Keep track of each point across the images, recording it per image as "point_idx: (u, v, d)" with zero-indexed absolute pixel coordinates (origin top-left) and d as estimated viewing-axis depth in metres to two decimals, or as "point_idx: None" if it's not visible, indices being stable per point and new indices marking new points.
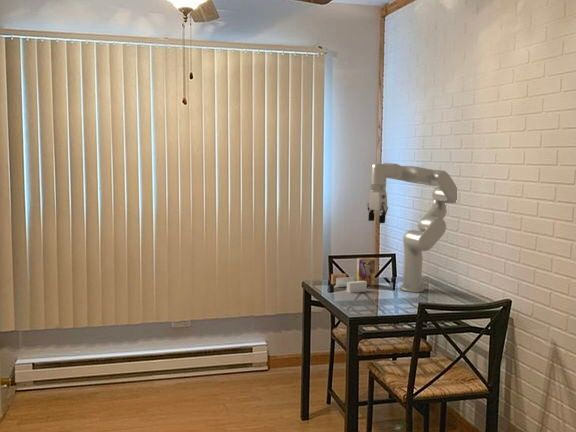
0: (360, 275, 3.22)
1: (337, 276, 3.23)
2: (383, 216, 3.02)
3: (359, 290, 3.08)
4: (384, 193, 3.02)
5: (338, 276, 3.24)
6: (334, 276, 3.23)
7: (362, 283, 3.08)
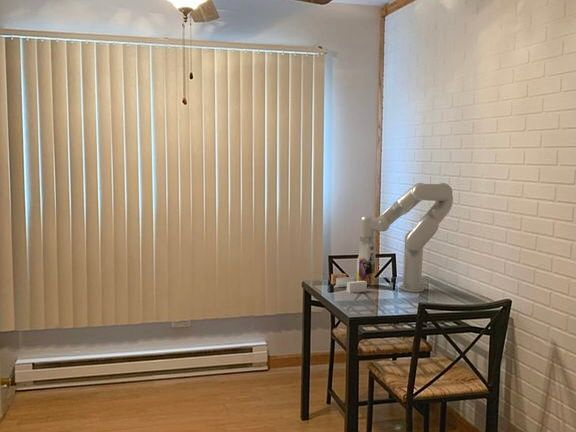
0: (360, 275, 3.22)
1: (337, 276, 3.23)
2: (369, 268, 3.21)
3: (359, 290, 3.08)
4: (373, 245, 3.19)
5: (338, 276, 3.24)
6: (334, 276, 3.23)
7: (362, 283, 3.08)
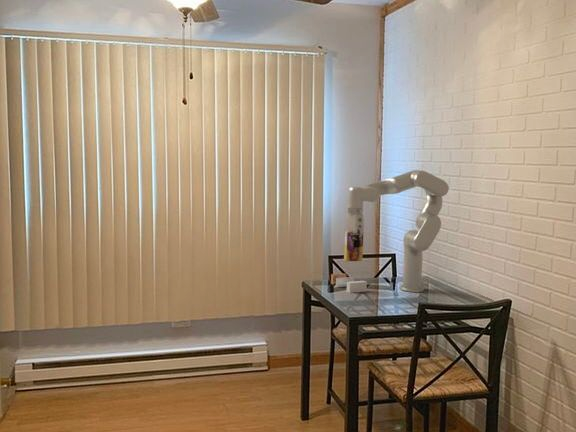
0: (348, 248, 3.08)
1: (337, 276, 3.23)
2: (357, 241, 3.07)
3: (359, 290, 3.08)
4: (361, 216, 3.06)
5: (338, 276, 3.24)
6: (334, 276, 3.23)
7: (362, 283, 3.08)
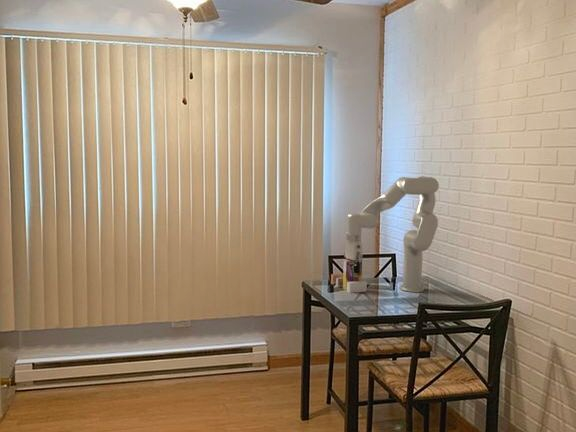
0: (347, 278, 3.10)
1: (337, 276, 3.23)
2: (358, 266, 3.07)
3: (359, 290, 3.08)
4: (359, 243, 3.07)
5: (338, 276, 3.24)
6: (334, 276, 3.23)
7: (362, 283, 3.08)
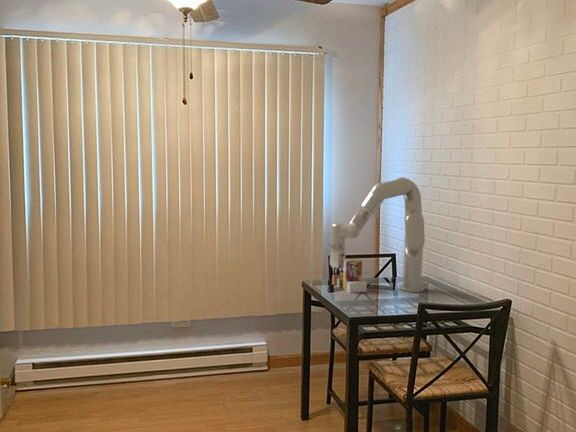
0: (347, 278, 3.10)
1: (338, 276, 3.22)
2: None
3: (359, 290, 3.08)
4: (343, 252, 3.22)
5: (339, 276, 3.23)
6: (335, 276, 3.22)
7: (362, 283, 3.08)
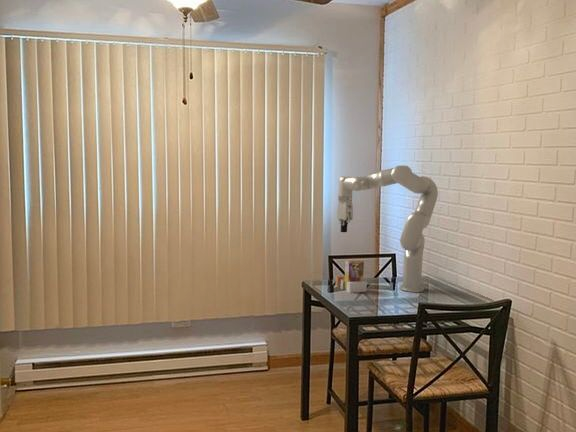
0: (350, 278, 3.08)
1: (342, 278, 3.19)
2: (345, 226, 3.35)
3: (359, 290, 3.08)
4: (350, 204, 3.32)
5: (343, 278, 3.19)
6: (339, 278, 3.18)
7: (362, 283, 3.08)
